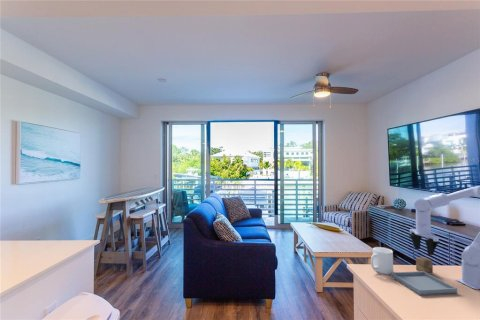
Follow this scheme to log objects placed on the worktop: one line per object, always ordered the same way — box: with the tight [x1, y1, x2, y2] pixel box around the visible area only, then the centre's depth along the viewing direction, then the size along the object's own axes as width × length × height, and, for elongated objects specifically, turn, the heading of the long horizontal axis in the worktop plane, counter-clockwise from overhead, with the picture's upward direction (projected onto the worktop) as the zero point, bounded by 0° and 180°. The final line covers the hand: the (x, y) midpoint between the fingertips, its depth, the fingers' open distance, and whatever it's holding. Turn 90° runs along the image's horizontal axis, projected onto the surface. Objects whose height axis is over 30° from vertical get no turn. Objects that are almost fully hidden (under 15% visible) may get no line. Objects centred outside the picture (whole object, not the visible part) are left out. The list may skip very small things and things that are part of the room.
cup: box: [370, 246, 394, 275], centre depth 118 cm, size 8×12×10 cm
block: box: [415, 256, 434, 275], centre depth 117 cm, size 4×4×6 cm
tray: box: [390, 270, 458, 297], centre depth 104 cm, size 16×16×2 cm
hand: (423, 251), depth 117 cm, fingers open, 7 cm apart
